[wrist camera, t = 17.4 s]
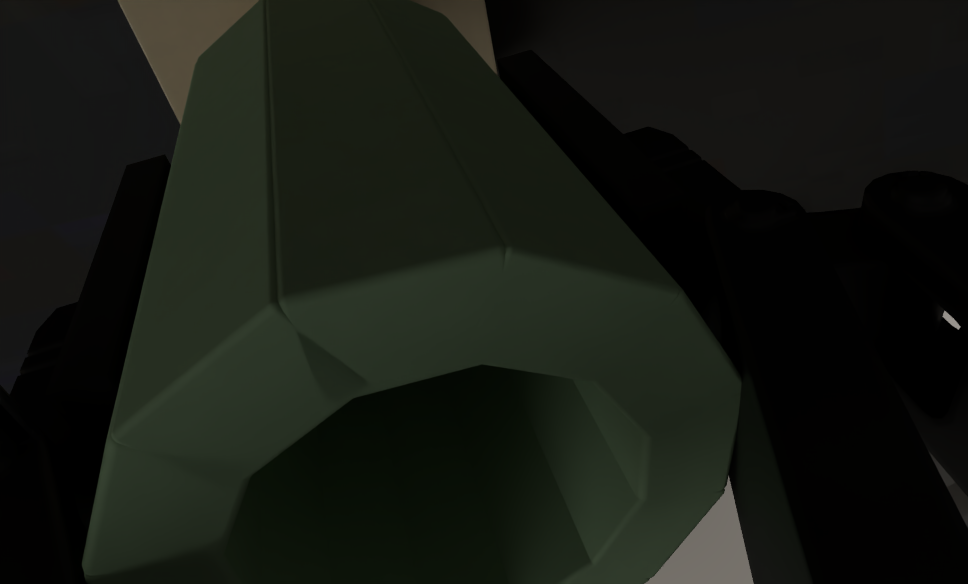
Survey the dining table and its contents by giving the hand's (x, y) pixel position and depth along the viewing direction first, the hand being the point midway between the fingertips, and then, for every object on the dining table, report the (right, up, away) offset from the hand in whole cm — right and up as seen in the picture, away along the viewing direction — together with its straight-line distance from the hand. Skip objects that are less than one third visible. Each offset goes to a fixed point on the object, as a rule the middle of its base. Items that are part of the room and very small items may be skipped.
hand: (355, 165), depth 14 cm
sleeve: (0, 0, +1) cm, 1 cm away
